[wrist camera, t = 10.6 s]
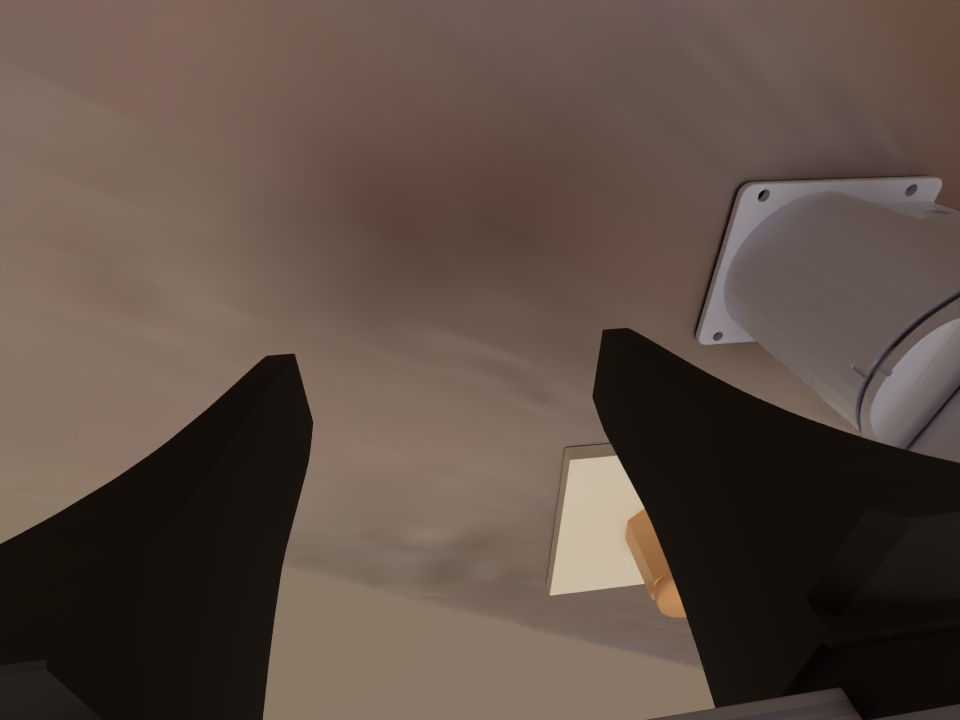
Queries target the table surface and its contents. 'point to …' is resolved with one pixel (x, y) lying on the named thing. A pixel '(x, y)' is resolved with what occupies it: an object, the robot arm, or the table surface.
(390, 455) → the table surface
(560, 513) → the post board
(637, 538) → the cap
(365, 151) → the table surface
